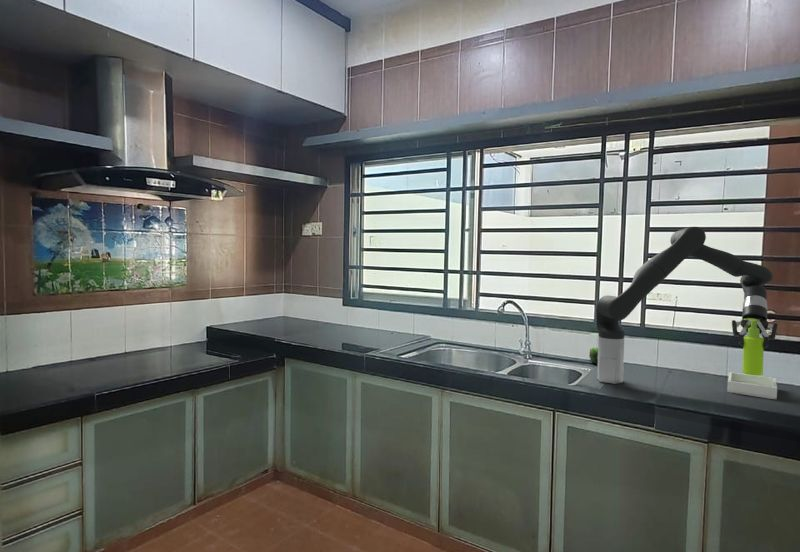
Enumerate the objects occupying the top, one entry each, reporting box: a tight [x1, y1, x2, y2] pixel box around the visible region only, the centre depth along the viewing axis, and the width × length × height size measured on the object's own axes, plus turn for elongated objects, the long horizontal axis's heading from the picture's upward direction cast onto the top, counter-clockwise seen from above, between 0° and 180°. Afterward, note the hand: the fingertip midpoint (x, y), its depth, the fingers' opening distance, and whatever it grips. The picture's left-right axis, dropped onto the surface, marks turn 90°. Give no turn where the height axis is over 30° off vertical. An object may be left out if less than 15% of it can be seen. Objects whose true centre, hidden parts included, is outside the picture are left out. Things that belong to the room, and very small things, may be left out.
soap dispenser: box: [742, 318, 764, 376], centre depth 172 cm, size 6×7×20 cm
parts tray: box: [726, 371, 778, 400], centre depth 172 cm, size 16×14×4 cm
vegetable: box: [588, 346, 598, 365], centre depth 218 cm, size 7×7×20 cm
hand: (753, 346), depth 170 cm, fingers closed on soap dispenser, 6 cm apart
